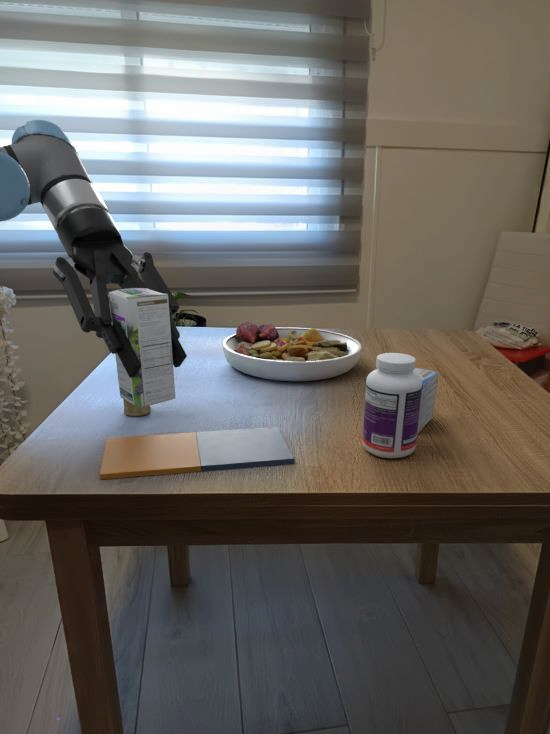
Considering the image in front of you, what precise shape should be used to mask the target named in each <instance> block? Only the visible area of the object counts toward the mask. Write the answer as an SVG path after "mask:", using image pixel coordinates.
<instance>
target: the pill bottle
mask: <svg viewBox="0 0 550 734" xmlns="http://www.w3.org/2000/svg"><path fill="white" fill-rule="evenodd" d="M416 361H417V359H416V358H415V356H413V355H410V354H406V353H400V352H399V353H398V352H385V353H380V354H378V355H377V356H376V360H375V366H376V368H375V369H374V370H372V371H371V372H370V373H368V375H367V376H366V381H365V397H364V415H363V429H362V446H363V448H364V449H365V450H366V452H368V453H370V455H371V454H372V455H373V456H376V457H379V458H383V459H401V458H405V457H407V456H410V455H411V454H412V453H413V452H414V451H415V450H416V447H417V441H418V440H417V439H418V434H417V430H418V420H419V410H420V400H421V391H422V380H421V378H420V376H419V375H418V374H416V373H415V372H413V370H414V369H415V368H416Z"/></svg>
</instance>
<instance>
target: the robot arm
mask: <svg viewBox="0 0 550 734" xmlns="http://www.w3.org/2000/svg"><path fill="white" fill-rule="evenodd" d="M38 203H40V204H41V206H42V208H43V210H44V211H45V214H46V215H47V217H48V219H49V221H50V223H51V225H52V227H53V229H54V231H55V232H56V234H57V237H58V239H59V241H60V243H61V245H62V247H63V249H64V251H65V253H66V255H67V257H68V258H66V259H65V258H64V257H62V256H58V257H57V258H56V259H55V262H54V265H53V268H52V274H53V276H54V277H55V278H56V279H57V280H58V282H59V283H61V285H62V287H63V289H64V291H65V294H66V296H67V298H68V301H69V304H70V305H71V308H72V311H73V313H74V315H75V318H76V320H77V322H78V325H79V327H80V329H81V331H82V332H84V333H86V334H87V333H91V332H95V336H96V337H97V338H99V339H102V340H103V341H104V343H105V345H106V347H107V349H108V351H109V352H110V353H111V355H115V354H116V353H117V354H118V356H119V358H120V360H121V362H122V364H123V366H124V368H125V370H126V372H127V374H128V375H129V377H130V378H131V377H135V376H136V374H137V373H138V371H139V369H140V368H141V366H142V365H141V363H140V361H139V359H138V357H137V355H136V354H135V352H134V350H133V348H132V346H131V344H130V342H129V340H128V338H127V336H126V334H125V333H124V331H123V329H122V327H121V325H120V323H114V324H113V326H112V317H111V307H110V299H109V292H108V286H107V285H109V284H110V285H111V284H114V285H118V286H119V288H120V289H129V288H147V289H150V290H153V291H156V292H159V293H163V294H168V301H169V315H170V328H171V343H172V355H173V368H175V369H176V368H180V367H181V366H182V364H183V363H184V361H185V360H186V359H187V357H188V355H187V353H186V351H185V349H184V348H183V345H182V344H181V342H180V340H179V339H180V337H181V334H180V331H179V330H178V328H177V326H176V324H175V322H174V321H173V320H174V318H175V317H176V315H177V313H178V312H179V310H180V304H179V303H178V301H177V300H176V298H175V297H174V295H173V294H172V292H171V290H170V288H169V287H168V285H167V284H166V282H165V281H164V279H163V277H162V275H161V274H160V273H159V271H158V269H157V268H156V266H155V263H154V257H153V255H152V253H150V252H147V251H145V252H144V253H143V255H138V254H133V252H132V251H131V250H130V249H128V248H127V246H125V244H124V241H123V238H122V234H121V232H120V230H119V229H118V227H117V225H116V223H115V221H114V220H113V217H112V215H111V214H110V213H109V209H108V207H107V206H106V204H105V202H104V200H103V198H102V197H101V195H100V193H99V192H98V190H97V188H96V186H95V185H94V183H93V181H92V180H91V178H90V175H89V174H88V171H87V170H86V167H85V166H84V163H83V162H82V160H81V157H80V156H79V152H78V150H77V149H76V147H75V146H74V145H73V142H72V141H71V140H70V139H69V136H67V134H66V133H65V132H64V130H63V129H62V128H61V127H60V126H58V125H57V124H55V123H54V122H51V121H49V120H43V119H32V120H28V121H26V123H25V124H24V125H22V126H18V127H17V128H16V129H15V130H14V132H13V134H12V137H11V144H8V145H3V146H0V222H7V221H10V220H13V219H14V218H16V217H18V216H20V214H22V213H23V212H24V211H25V209H26V208H27V207H28V206H31V205H34V204H38ZM77 272H78V273H80V274H81V275H82V276H84V277H86V278H87V280H88V286H89V292H90V293H91V298H92V305H93V307H92V305H91V303H90V300H89V298H88V296H87V294H86V291H85V289H84V287H83V285H82V283H81V280H80V277H79V276H78V273H77Z"/></svg>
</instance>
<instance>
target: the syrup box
mask: <svg viewBox="0 0 550 734" xmlns="http://www.w3.org/2000/svg"><path fill="white" fill-rule="evenodd" d="M108 299H109V306H110V312H111V318H112V323H111V324H112V326H113V324H114V323H120V325H121V327H122V329H123V331H124V333H125V334H126V336H127V338H128V340H129V342H130V344H131V346H132V348H133V350H134V352H135V354H136V355H137V357H138V359H139V361H140V363H141V365H142V366H141V368H140V369H139V371H138V373H137V374H136V376H135V377H131V378H130V377H129V375H128V374H127V372H126V370H125V368H124V366H123V364H122V362H121V360H120V358H119V356H118V354H117V353H116V354H114V355H115V363H116V372H117V382H118V389H119V396H120V399H123V398H124V399H125V400H127V401H128V402H130V403H132V404H133V405H135V406H136V407H138V408H142V407H146V406H149V405H150V406H152V405H157V404H160V403H165V402H168V401H171V400H175V399H176V386H175V372H174V371H175V369H174V365H173V355H172V343H171V328H170V315H169V301H168V294H163V293H159V292H156V291H153V290H150V289H147V288H129V289H122V288H120V289H116V290H112V291H109V292H108Z"/></svg>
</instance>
